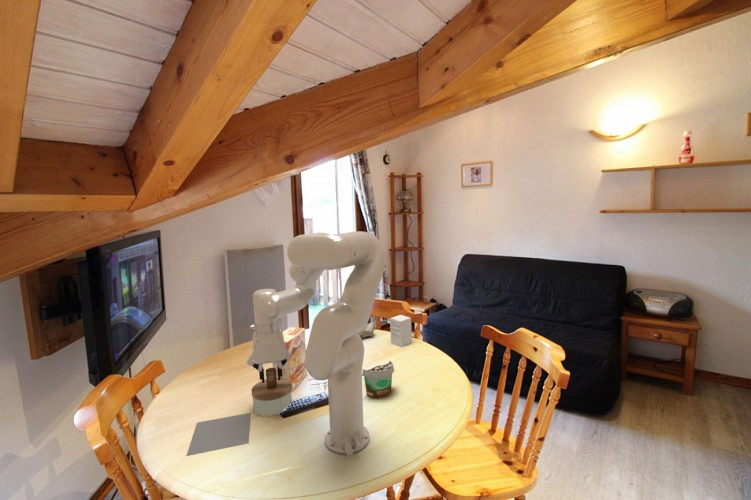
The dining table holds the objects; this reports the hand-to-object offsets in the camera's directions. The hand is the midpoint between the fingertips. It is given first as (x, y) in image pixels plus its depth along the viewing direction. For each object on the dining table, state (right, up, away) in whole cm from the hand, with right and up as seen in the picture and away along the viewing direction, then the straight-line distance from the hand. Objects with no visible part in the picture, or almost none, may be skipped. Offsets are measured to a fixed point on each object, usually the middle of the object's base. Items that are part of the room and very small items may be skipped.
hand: (271, 379), depth 120 cm
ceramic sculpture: (+28, -2, +62) cm, 68 cm away
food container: (+37, -8, +7) cm, 39 cm away
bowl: (0, -10, +1) cm, 10 cm away
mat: (-11, -12, -13) cm, 21 cm away
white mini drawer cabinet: (+47, -2, +53) cm, 71 cm away
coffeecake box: (+3, -8, +17) cm, 19 cm away
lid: (0, -4, 0) cm, 4 cm away
